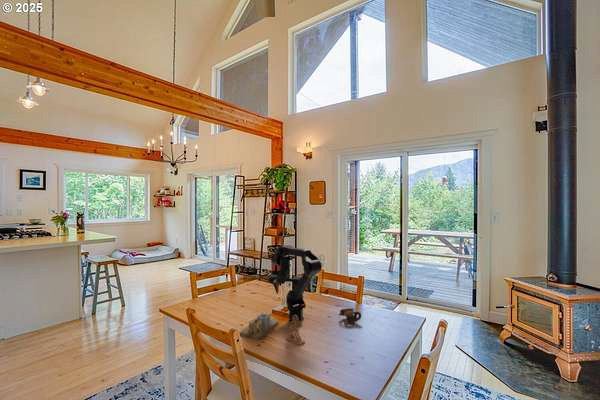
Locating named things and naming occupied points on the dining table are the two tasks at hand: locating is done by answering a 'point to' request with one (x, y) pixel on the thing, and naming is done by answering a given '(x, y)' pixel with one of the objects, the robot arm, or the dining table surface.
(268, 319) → the loose gear
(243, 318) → the dining table surface
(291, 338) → the gingerbread man figurine
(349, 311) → the pottery mug
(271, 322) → the gear board
